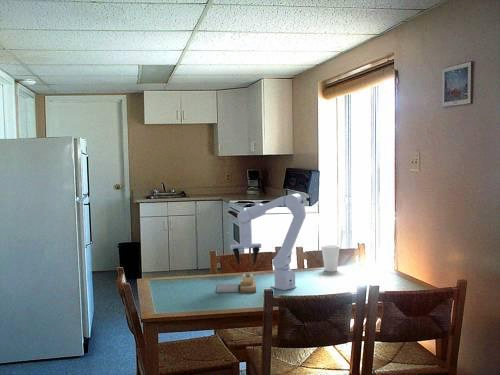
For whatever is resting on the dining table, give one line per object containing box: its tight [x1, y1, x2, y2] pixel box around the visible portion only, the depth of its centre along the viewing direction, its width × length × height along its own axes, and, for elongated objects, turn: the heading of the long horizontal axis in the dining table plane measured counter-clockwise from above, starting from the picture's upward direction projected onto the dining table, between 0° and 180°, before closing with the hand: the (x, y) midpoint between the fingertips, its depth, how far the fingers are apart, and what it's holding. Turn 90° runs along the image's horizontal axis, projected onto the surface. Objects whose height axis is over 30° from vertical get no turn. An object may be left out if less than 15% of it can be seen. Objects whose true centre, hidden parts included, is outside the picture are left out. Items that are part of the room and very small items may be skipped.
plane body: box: [239, 278, 257, 294], centre depth 272 cm, size 18×7×2 cm, turn 1°
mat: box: [215, 283, 240, 294], centre depth 272 cm, size 16×10×1 cm, turn 1°
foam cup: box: [320, 243, 341, 272], centre depth 309 cm, size 10×9×13 cm
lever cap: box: [242, 273, 254, 285], centre depth 272 cm, size 7×4×4 cm, turn 1°
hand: (246, 263), depth 279 cm, fingers open, 7 cm apart
